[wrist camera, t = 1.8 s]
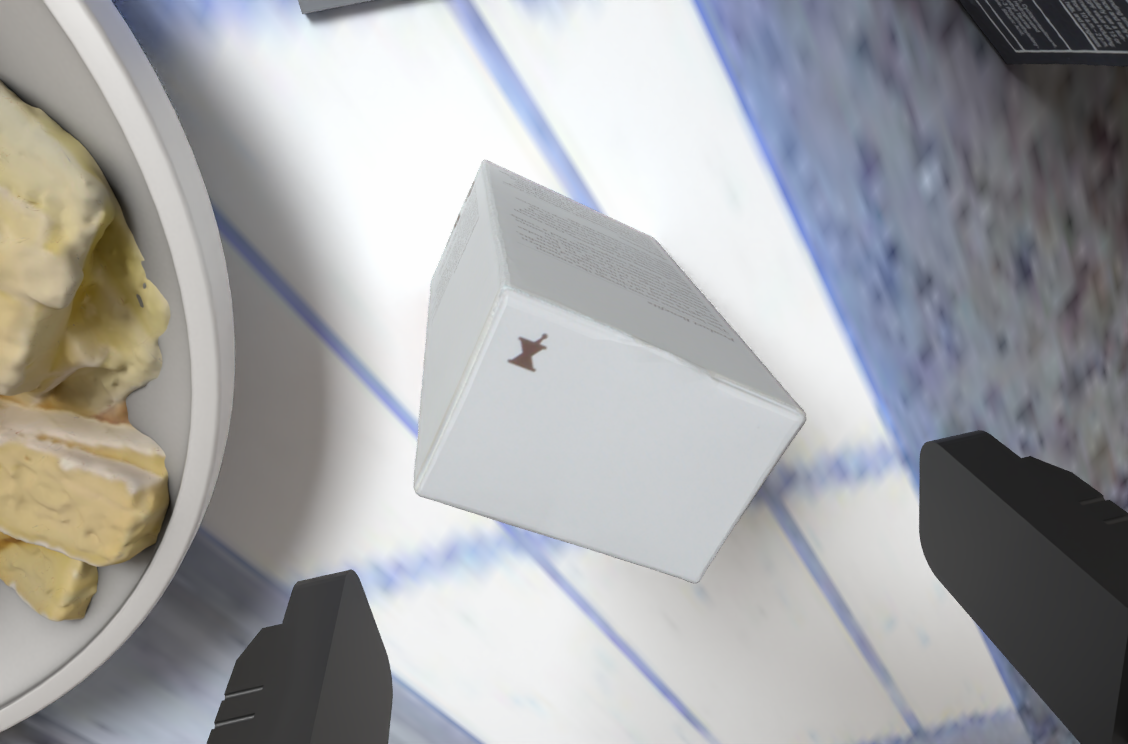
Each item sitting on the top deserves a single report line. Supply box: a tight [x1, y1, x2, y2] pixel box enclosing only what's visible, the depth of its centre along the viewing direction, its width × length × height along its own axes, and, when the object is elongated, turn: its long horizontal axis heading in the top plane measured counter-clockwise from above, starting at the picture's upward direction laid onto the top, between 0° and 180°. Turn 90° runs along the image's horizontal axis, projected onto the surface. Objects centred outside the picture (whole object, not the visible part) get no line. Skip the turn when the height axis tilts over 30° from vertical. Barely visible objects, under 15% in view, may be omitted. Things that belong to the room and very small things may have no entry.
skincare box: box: [414, 160, 806, 583], centre depth 19 cm, size 6×4×12 cm
